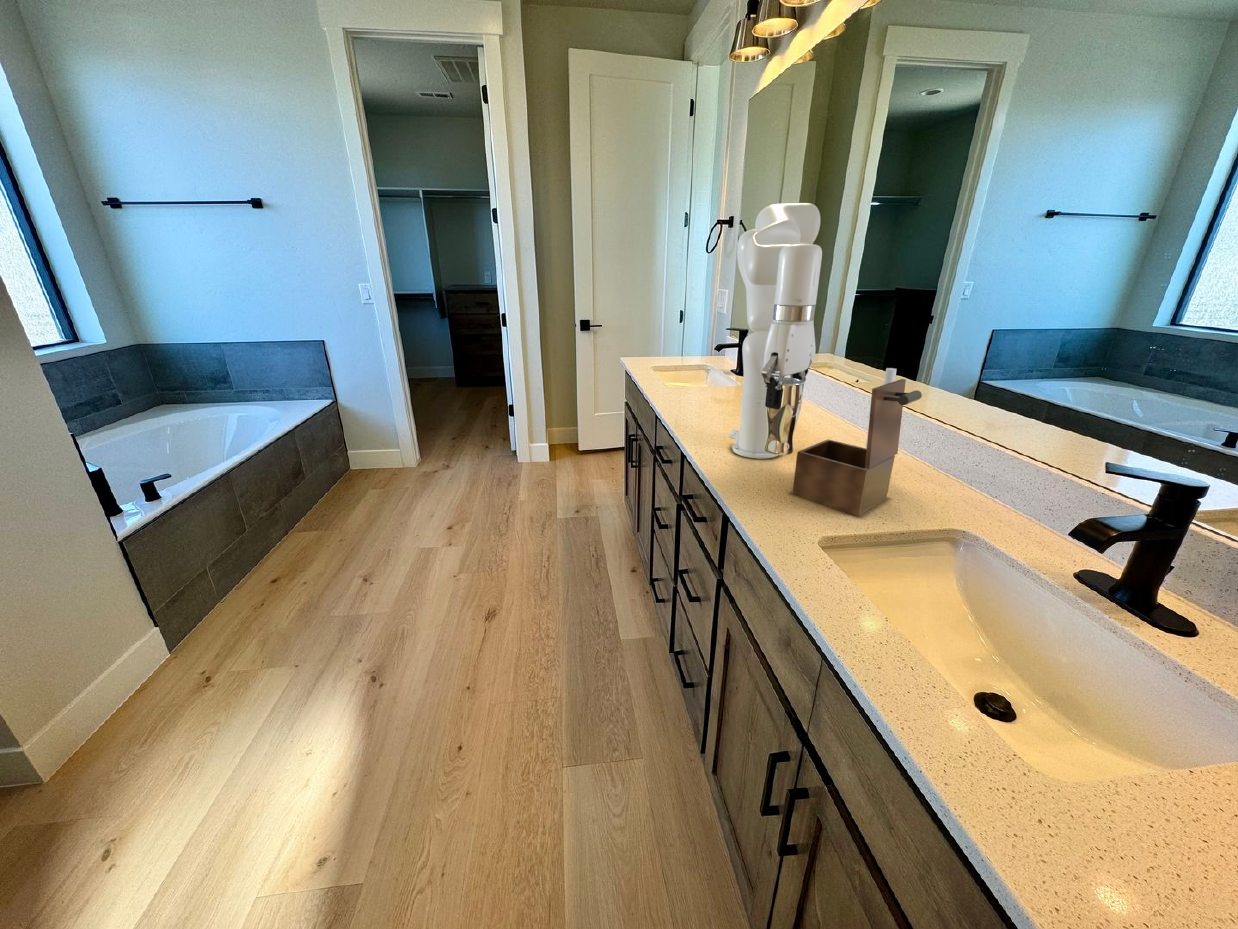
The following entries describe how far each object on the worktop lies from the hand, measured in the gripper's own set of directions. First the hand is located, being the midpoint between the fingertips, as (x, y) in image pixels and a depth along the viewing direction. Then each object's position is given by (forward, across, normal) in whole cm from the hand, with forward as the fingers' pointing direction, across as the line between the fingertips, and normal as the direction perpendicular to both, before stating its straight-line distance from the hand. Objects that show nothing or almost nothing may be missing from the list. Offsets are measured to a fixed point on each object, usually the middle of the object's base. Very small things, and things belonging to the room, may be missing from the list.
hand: (783, 403), depth 101 cm
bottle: (+20, -26, +10) cm, 35 cm away
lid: (+2, -9, +17) cm, 19 cm away
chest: (+20, -8, +11) cm, 24 cm away
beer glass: (+10, 0, 0) cm, 10 cm away
